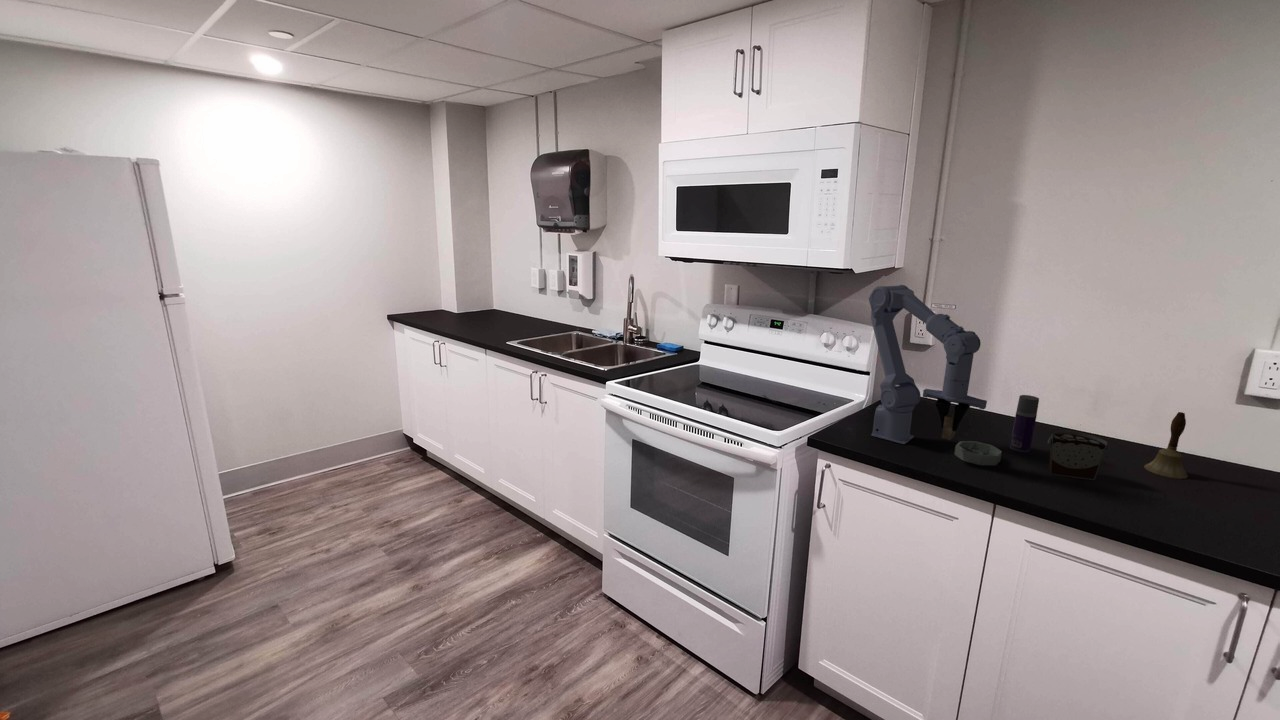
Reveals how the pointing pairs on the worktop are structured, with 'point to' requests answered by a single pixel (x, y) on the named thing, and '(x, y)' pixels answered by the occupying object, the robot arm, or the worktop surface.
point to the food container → (1076, 454)
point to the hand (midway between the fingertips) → (949, 428)
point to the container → (1024, 423)
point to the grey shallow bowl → (978, 453)
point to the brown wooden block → (948, 427)
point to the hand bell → (1170, 453)
